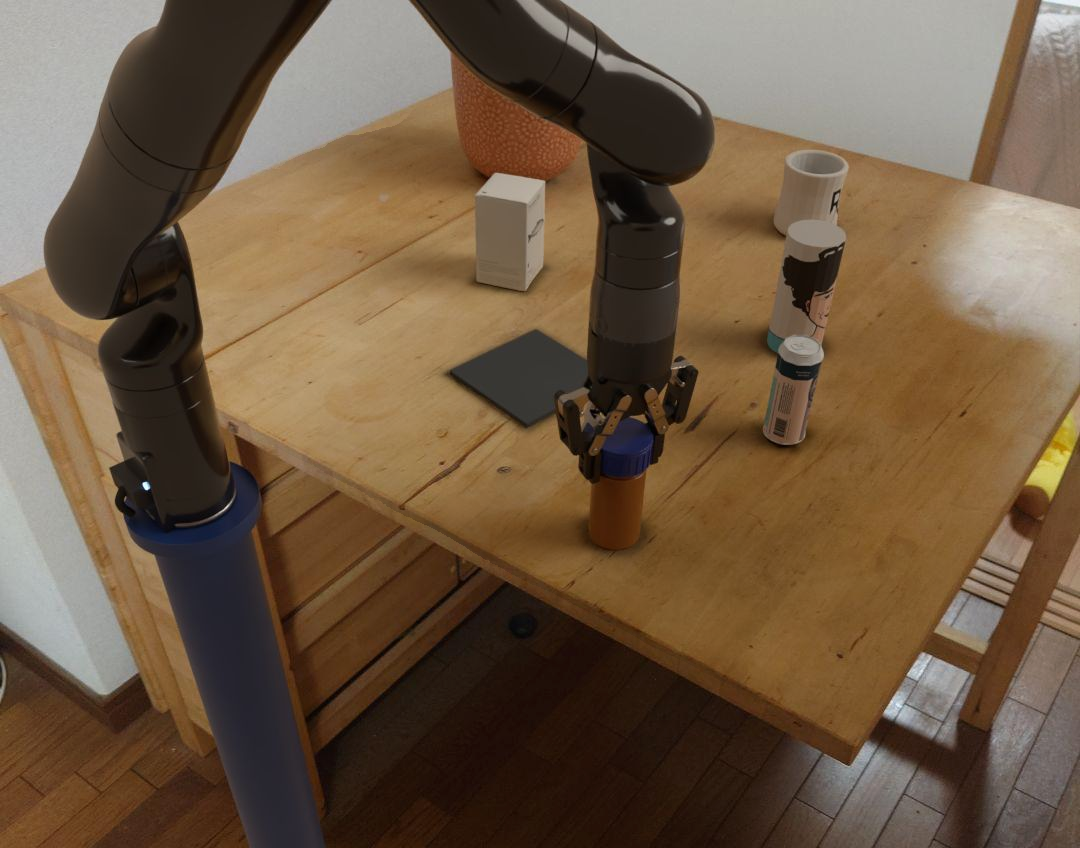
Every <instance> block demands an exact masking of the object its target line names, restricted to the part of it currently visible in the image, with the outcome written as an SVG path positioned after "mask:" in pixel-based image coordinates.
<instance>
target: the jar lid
mask: <svg viewBox="0 0 1080 848" xmlns="http://www.w3.org/2000/svg"><path fill="white" fill-rule="evenodd" d="M603 419H604V420H605V418H603ZM645 423H646V422H644V421H642V420H640V419H638V418H635V417H632V416H630V417H628V418H626V419H624V420H622V421H619V422H618V424H617V426H616V428H615V430H614V432H613V434H612V435H611V436H607V438H606V440H605V442H604V444H603V446H602V448H601V450H600V452H601V453H602V458H601V472H602V473H604V474H606V475H609V476H613V477H632V476H635V475H638V474H640V473H642V472H644V471H645V470H646V469H647V470H648V468H649V467H650V466H651V465H650V463H651V459H652V451H653V443H654V440H653V433H652V430H651V429H650V428H649V426H648V425H646V424H645ZM594 432H595V430H594V431H593V433H592V435H591V436H592V437H593V435H594Z"/></svg>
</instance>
